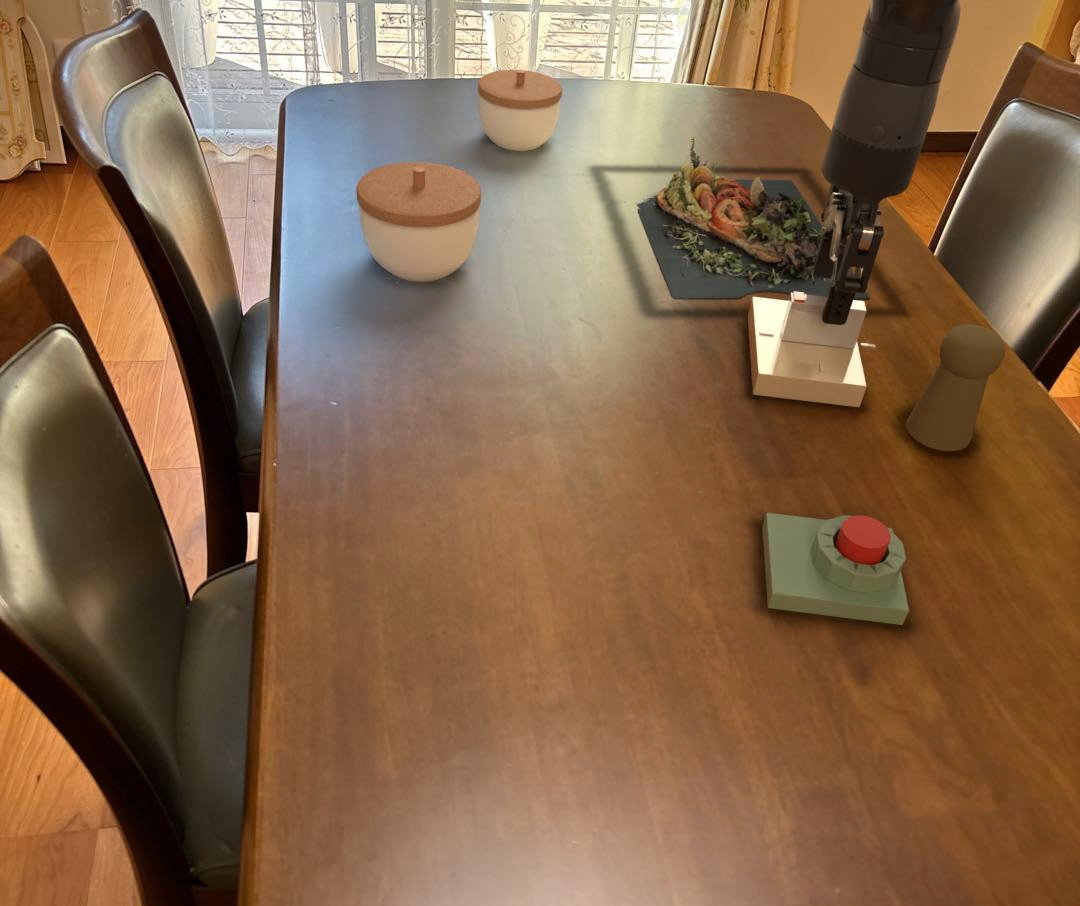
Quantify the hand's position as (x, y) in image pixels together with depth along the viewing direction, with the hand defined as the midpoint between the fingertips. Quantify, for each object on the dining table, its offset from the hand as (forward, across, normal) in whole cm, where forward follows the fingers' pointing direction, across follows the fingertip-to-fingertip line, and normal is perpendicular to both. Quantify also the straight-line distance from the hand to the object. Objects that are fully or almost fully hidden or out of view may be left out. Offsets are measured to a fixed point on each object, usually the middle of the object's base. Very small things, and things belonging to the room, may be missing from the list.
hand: (828, 298), depth 96 cm
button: (+4, -30, -1) cm, 30 cm away
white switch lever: (+5, 0, 0) cm, 5 cm away
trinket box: (+8, +45, +35) cm, 57 cm away
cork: (+8, -9, -11) cm, 16 cm away
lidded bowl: (+8, +10, +41) cm, 43 cm away
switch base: (+8, 0, +1) cm, 8 cm away
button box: (+8, -30, +1) cm, 31 cm away
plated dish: (+8, +25, +6) cm, 27 cm away
